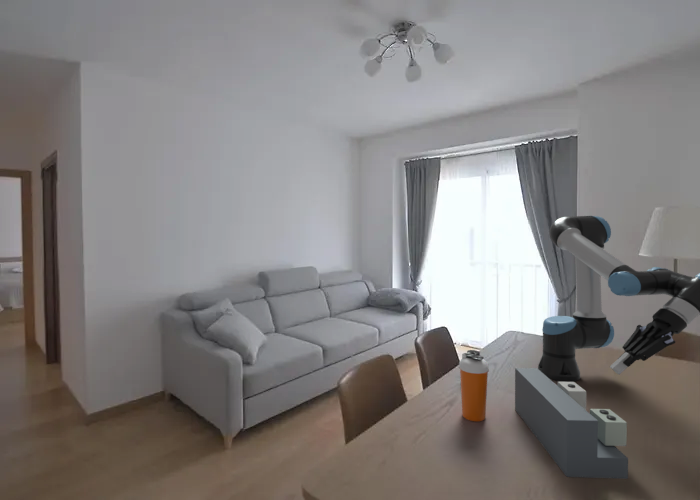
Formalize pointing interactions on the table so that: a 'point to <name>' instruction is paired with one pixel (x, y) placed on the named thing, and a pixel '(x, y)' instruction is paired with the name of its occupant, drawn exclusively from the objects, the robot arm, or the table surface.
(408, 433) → the table surface
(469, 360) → the shaker bottle
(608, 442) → the key two
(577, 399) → the key one
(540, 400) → the grey stepped stand
